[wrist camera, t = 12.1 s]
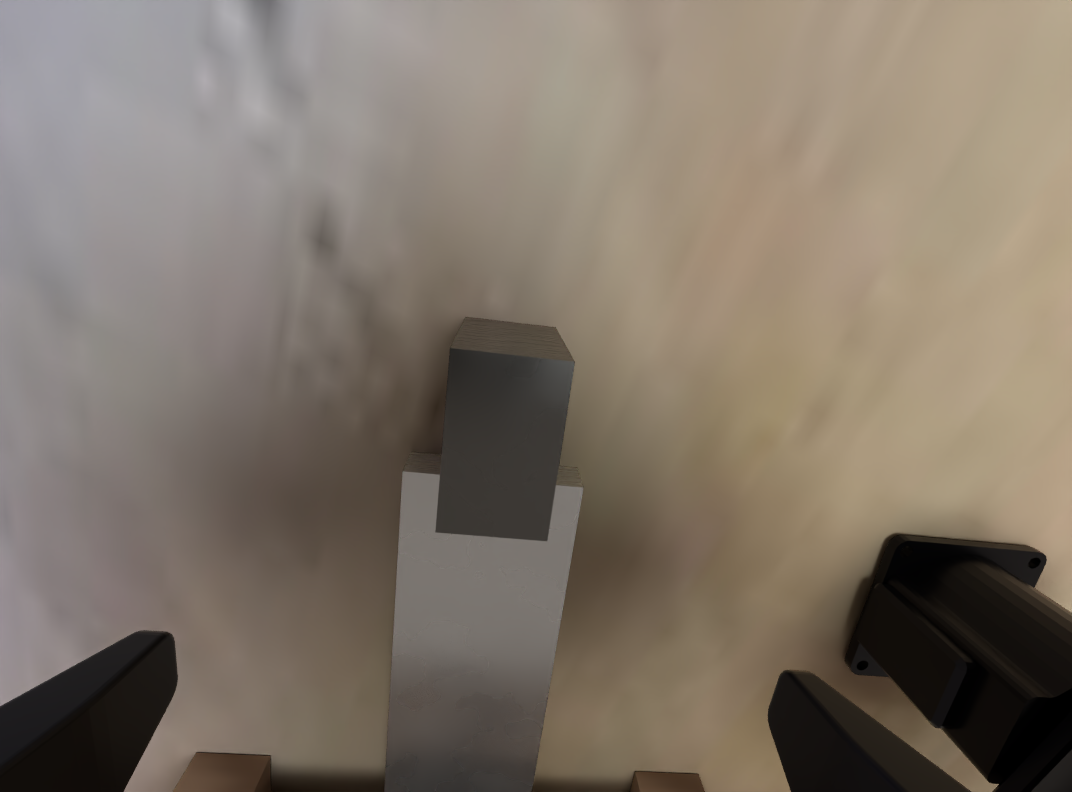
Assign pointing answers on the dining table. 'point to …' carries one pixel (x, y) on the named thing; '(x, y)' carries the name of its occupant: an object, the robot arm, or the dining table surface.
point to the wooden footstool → (245, 780)
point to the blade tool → (483, 567)
